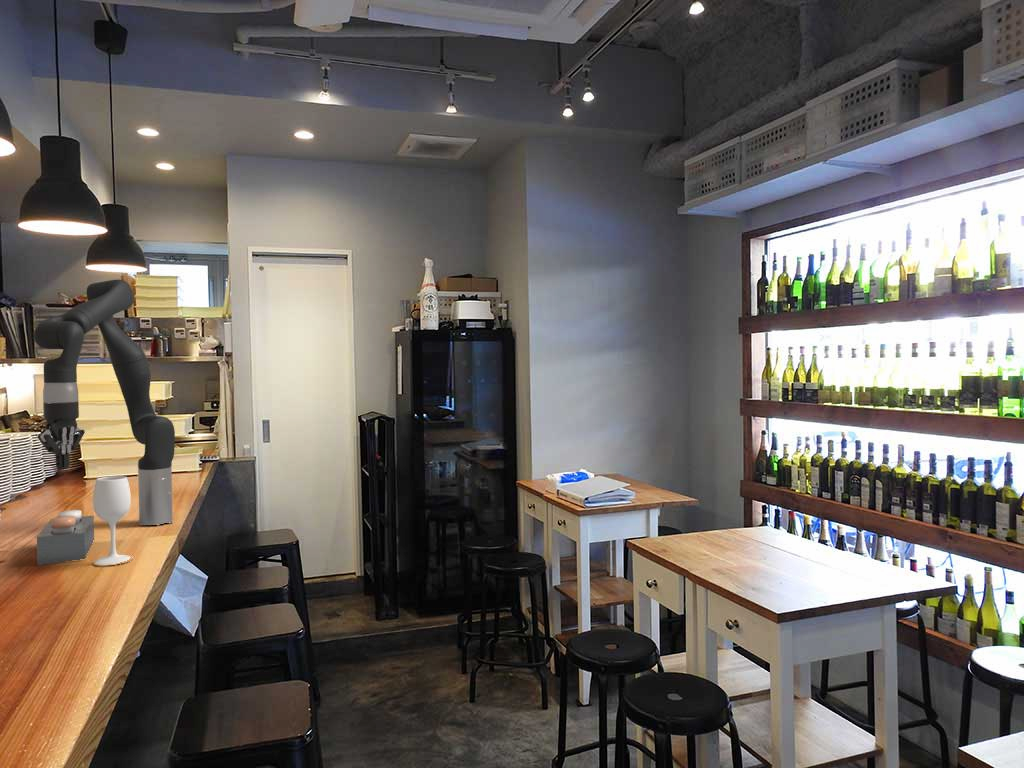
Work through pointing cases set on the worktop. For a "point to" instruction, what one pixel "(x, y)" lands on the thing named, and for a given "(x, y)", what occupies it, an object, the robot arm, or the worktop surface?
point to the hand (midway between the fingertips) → (62, 468)
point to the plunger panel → (65, 543)
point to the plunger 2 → (63, 524)
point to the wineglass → (112, 509)
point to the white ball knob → (72, 514)
